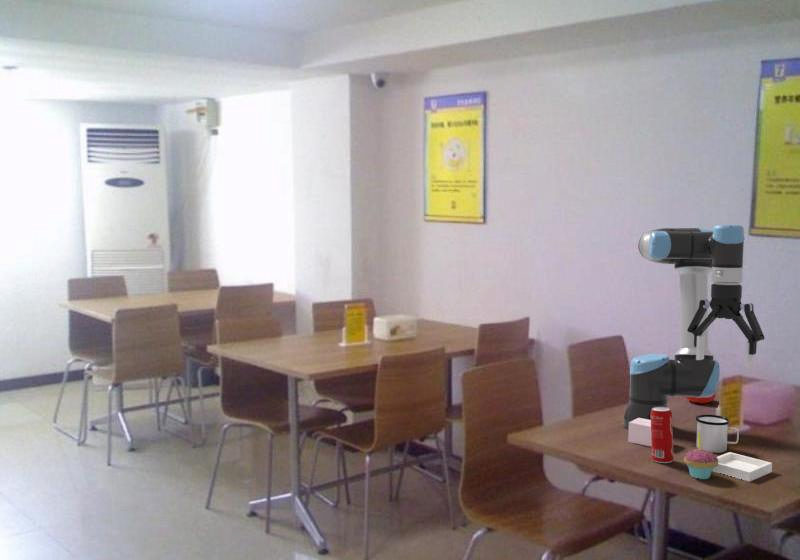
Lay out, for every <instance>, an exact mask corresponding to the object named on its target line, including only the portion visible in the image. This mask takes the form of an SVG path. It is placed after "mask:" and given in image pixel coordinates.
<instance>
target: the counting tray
mask: <svg viewBox="0 0 800 560" xmlns="http://www.w3.org/2000/svg"><path fill="white" fill-rule="evenodd" d="M716 457H717V458H718V466H717V467H714V468H713V470H712V472H713V473H716V474H720V473H721V475H723V474H725V475H724V476H727V475H728V476H727V477H730V476H732V477H731V478H734V477H735V478H734V479H738V480H741V479H742V480H741V481H745V482H753V481H754V480H757V479H759V478H761V477H764V476H766V475H768V474H771V473H772V472H773V462H769V461H766V460H762V459H758V458H754V457H750V456H746V455H742V454H739V453H735V452H731V451H730V452H726V453H723V454H721V455H718V456H716Z"/></svg>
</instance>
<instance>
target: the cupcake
mask: <svg viewBox="0 0 800 560" xmlns="http://www.w3.org/2000/svg"><path fill="white" fill-rule="evenodd" d="M717 457H718V456H717V455H715V453H712V452H710V451H706V450H701V433H698V448H695V449H692V450H688V452H686V453H685V454H684V459H683V462H684V463H685V464H686V465H687V468H688V470H689V474H690V477H692V478H693V477H694V478H693V479H697V478H699V479H698V480H708V479H710V477H711V474H712V472H713V471H712V470H713V468H714V467H717V466H718V458H717Z"/></svg>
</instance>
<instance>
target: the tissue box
mask: <svg viewBox="0 0 800 560" xmlns="http://www.w3.org/2000/svg"><path fill="white" fill-rule="evenodd" d="M627 431H628V436H627V442H628V443H633V444H638V445H641V446H647V447H650V448H652V444H651V420H648V419H643V418H637V419H635V420H633V421H631V422H629V429H628V430H627Z"/></svg>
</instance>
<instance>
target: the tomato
mask: <svg viewBox="0 0 800 560" xmlns="http://www.w3.org/2000/svg"><path fill="white" fill-rule="evenodd" d="M716 393H717V391H716V392H715V393H714V395H713V396H711V397H700V398H697V397H685V398H686V399H687V400H689V401H690V402H691V403H693V404H697V403H699V404H702V405H704V404H707V403H710V402H713V400H715V397H716Z"/></svg>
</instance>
